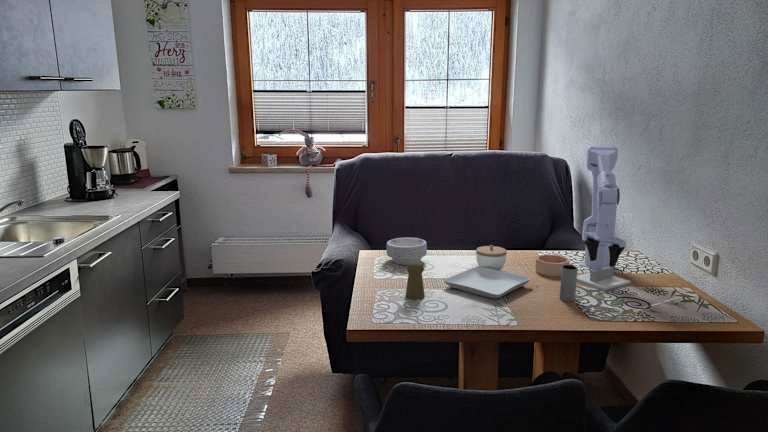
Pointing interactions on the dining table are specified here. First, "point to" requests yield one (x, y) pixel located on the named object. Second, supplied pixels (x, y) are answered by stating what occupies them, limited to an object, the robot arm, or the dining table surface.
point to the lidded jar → (491, 257)
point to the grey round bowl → (406, 250)
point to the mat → (608, 289)
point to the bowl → (550, 264)
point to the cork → (415, 281)
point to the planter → (568, 283)
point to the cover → (602, 278)
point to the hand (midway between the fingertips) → (602, 263)
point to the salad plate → (486, 282)
